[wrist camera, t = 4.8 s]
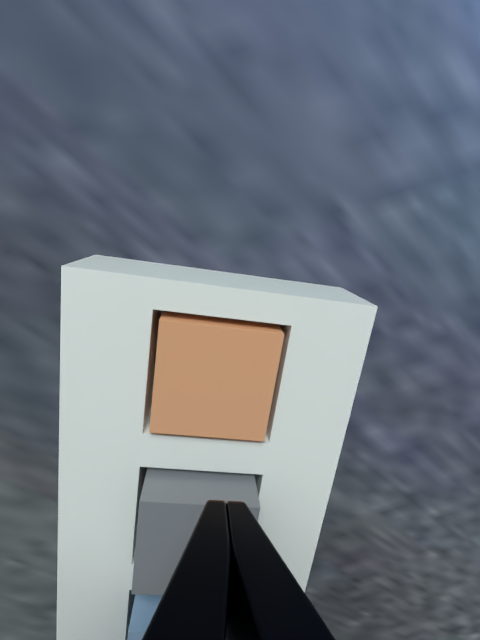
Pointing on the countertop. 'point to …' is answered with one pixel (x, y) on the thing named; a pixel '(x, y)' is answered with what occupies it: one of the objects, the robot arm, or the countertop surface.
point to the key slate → (142, 615)
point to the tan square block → (214, 376)
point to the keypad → (182, 450)
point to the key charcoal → (178, 518)
